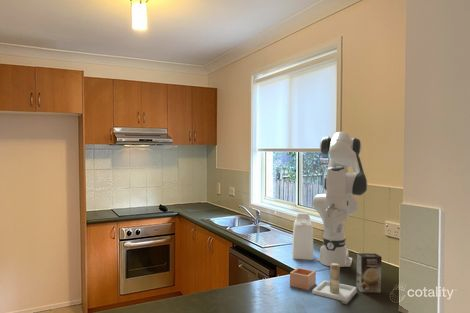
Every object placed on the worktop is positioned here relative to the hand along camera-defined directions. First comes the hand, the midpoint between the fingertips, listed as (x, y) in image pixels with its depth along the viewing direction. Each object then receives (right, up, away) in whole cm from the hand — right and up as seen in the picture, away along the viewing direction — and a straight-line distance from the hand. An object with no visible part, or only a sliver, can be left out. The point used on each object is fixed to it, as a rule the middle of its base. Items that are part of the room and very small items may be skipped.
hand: (335, 234), depth 160 cm
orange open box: (-13, -26, +8) cm, 30 cm away
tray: (0, -26, 0) cm, 26 cm away
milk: (-4, -26, +59) cm, 64 cm away
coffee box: (+17, -27, +6) cm, 32 cm away
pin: (0, -25, 0) cm, 25 cm away
